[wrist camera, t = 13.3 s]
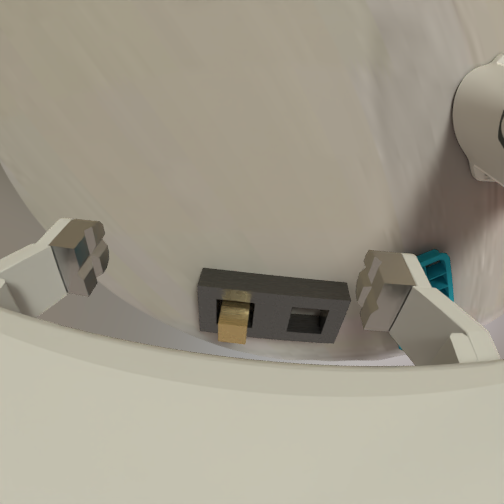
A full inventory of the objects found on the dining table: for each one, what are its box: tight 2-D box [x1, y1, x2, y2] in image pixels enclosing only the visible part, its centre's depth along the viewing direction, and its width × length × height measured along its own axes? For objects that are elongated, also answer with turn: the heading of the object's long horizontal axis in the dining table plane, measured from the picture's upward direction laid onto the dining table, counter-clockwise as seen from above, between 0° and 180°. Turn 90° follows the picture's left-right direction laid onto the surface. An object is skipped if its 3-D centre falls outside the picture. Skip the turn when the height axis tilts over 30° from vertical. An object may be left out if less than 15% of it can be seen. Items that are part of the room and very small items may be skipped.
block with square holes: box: [198, 268, 351, 343], centre depth 49 cm, size 22×10×4 cm, turn 85°
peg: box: [218, 300, 250, 344], centre depth 47 cm, size 4×4×8 cm
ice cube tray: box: [399, 249, 454, 350], centre depth 47 cm, size 12×20×3 cm, turn 29°
